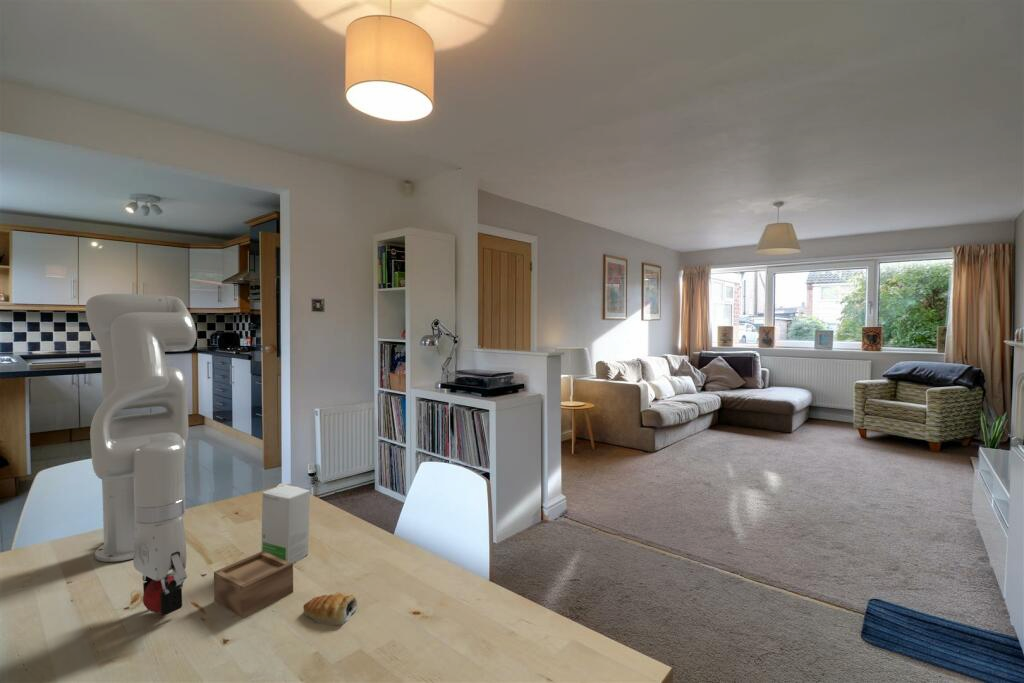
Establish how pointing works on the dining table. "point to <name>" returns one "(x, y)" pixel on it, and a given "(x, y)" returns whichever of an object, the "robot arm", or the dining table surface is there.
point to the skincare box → (286, 522)
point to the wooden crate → (253, 583)
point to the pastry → (331, 608)
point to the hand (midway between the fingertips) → (162, 604)
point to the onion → (154, 595)
